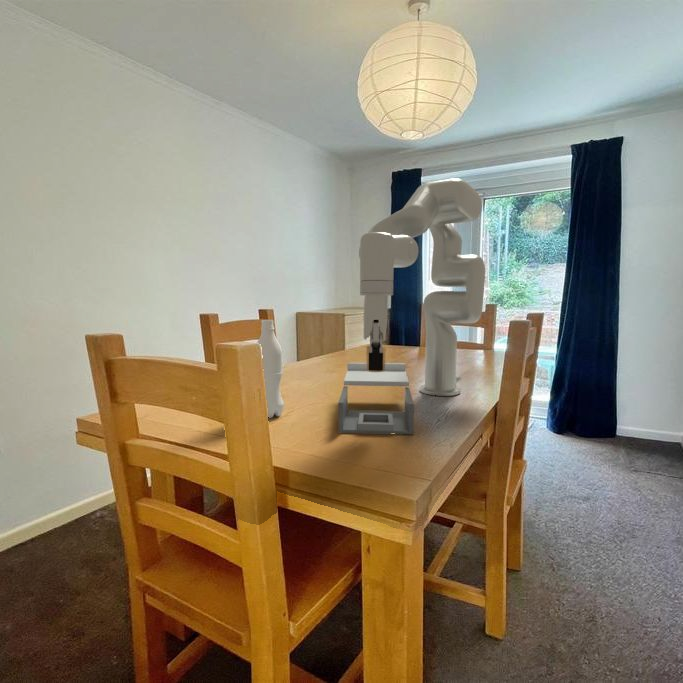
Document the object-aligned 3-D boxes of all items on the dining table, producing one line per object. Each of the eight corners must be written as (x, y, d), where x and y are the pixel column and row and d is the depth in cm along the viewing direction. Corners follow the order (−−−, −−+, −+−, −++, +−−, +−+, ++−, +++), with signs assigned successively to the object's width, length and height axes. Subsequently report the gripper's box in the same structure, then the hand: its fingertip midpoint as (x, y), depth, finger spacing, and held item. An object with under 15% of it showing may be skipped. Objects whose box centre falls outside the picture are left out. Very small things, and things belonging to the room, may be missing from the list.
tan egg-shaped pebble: (374, 367, 98) (375, 345, 98) (389, 370, 95) (389, 346, 94) (362, 370, 95) (362, 346, 95) (376, 373, 92) (377, 348, 91)
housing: (343, 412, 109) (343, 386, 108) (408, 414, 107) (408, 387, 106) (338, 432, 94) (338, 402, 93) (413, 434, 93) (413, 404, 92)
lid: (347, 373, 123) (347, 362, 122) (405, 373, 121) (405, 363, 121) (343, 385, 108) (343, 373, 107) (408, 386, 106) (409, 374, 106)
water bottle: (285, 410, 111) (283, 318, 107) (282, 419, 104) (279, 321, 100) (258, 411, 111) (255, 319, 107) (254, 419, 104) (250, 321, 100)
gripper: (361, 288, 101) (361, 361, 104) (358, 289, 85) (357, 375, 87) (391, 288, 101) (390, 362, 103) (394, 289, 84) (393, 376, 87)
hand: (375, 367), depth 95 cm, fingers closed on tan egg-shaped pebble, 4 cm apart
